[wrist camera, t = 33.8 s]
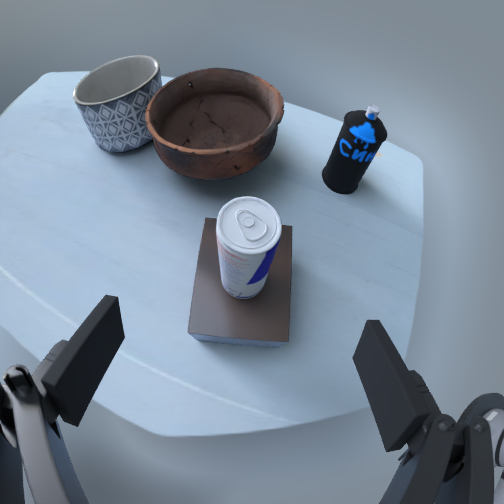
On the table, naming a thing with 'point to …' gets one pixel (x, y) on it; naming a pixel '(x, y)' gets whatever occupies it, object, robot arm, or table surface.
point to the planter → (119, 101)
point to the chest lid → (241, 310)
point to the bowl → (214, 122)
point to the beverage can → (246, 244)
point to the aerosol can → (354, 150)
